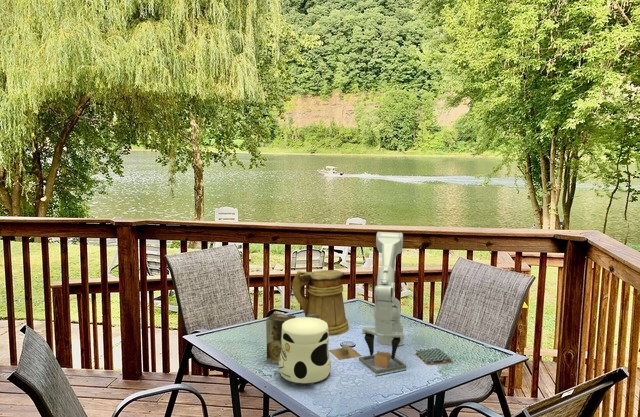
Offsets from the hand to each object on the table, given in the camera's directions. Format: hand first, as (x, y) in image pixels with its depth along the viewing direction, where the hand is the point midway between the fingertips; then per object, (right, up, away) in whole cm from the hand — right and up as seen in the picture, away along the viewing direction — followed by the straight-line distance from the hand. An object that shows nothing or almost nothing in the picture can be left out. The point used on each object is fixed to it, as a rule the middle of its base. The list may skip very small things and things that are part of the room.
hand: (382, 356), depth 179 cm
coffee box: (-36, -3, +4) cm, 36 cm away
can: (-25, -1, +17) cm, 30 cm away
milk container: (-27, -5, -8) cm, 28 cm away
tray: (0, -4, 0) cm, 4 cm away
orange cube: (0, -3, 0) cm, 3 cm away
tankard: (-22, +1, +34) cm, 41 cm away
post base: (-13, -2, +9) cm, 16 cm away
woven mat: (+20, -4, +8) cm, 22 cm away
